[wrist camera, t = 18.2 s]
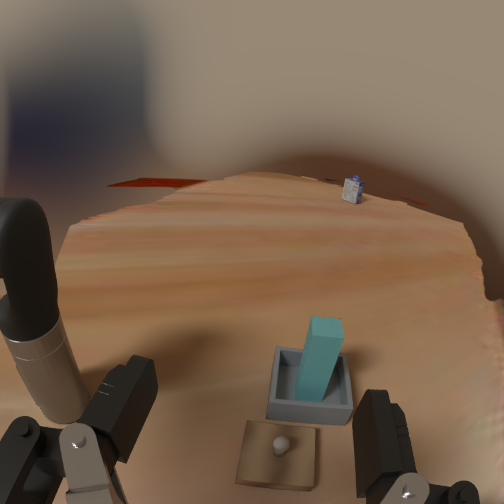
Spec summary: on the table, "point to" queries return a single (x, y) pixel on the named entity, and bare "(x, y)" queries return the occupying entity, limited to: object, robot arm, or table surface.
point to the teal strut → (318, 358)
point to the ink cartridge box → (353, 190)
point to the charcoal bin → (288, 409)
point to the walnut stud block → (277, 457)
